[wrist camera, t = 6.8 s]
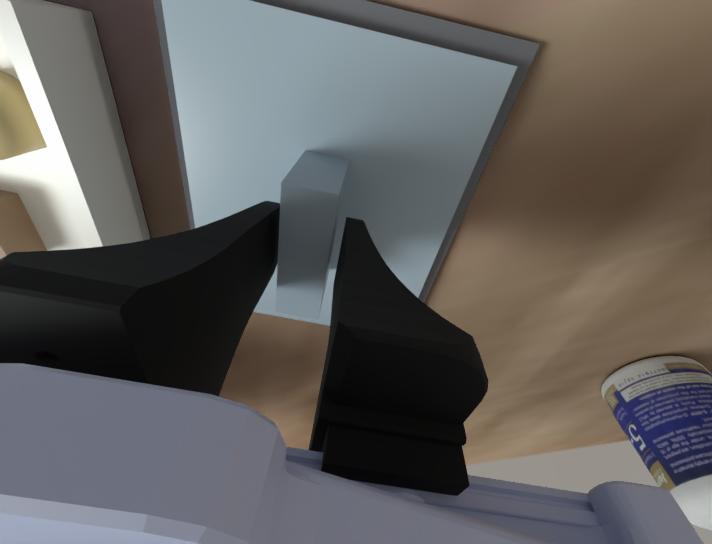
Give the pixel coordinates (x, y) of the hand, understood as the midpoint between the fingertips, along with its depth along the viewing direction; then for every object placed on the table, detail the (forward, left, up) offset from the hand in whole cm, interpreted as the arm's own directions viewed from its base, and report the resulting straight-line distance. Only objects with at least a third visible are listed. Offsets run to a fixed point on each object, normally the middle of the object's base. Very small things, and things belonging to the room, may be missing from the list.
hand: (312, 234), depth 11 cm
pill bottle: (-7, -21, -3) cm, 22 cm away
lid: (0, 0, -2) cm, 2 cm away
